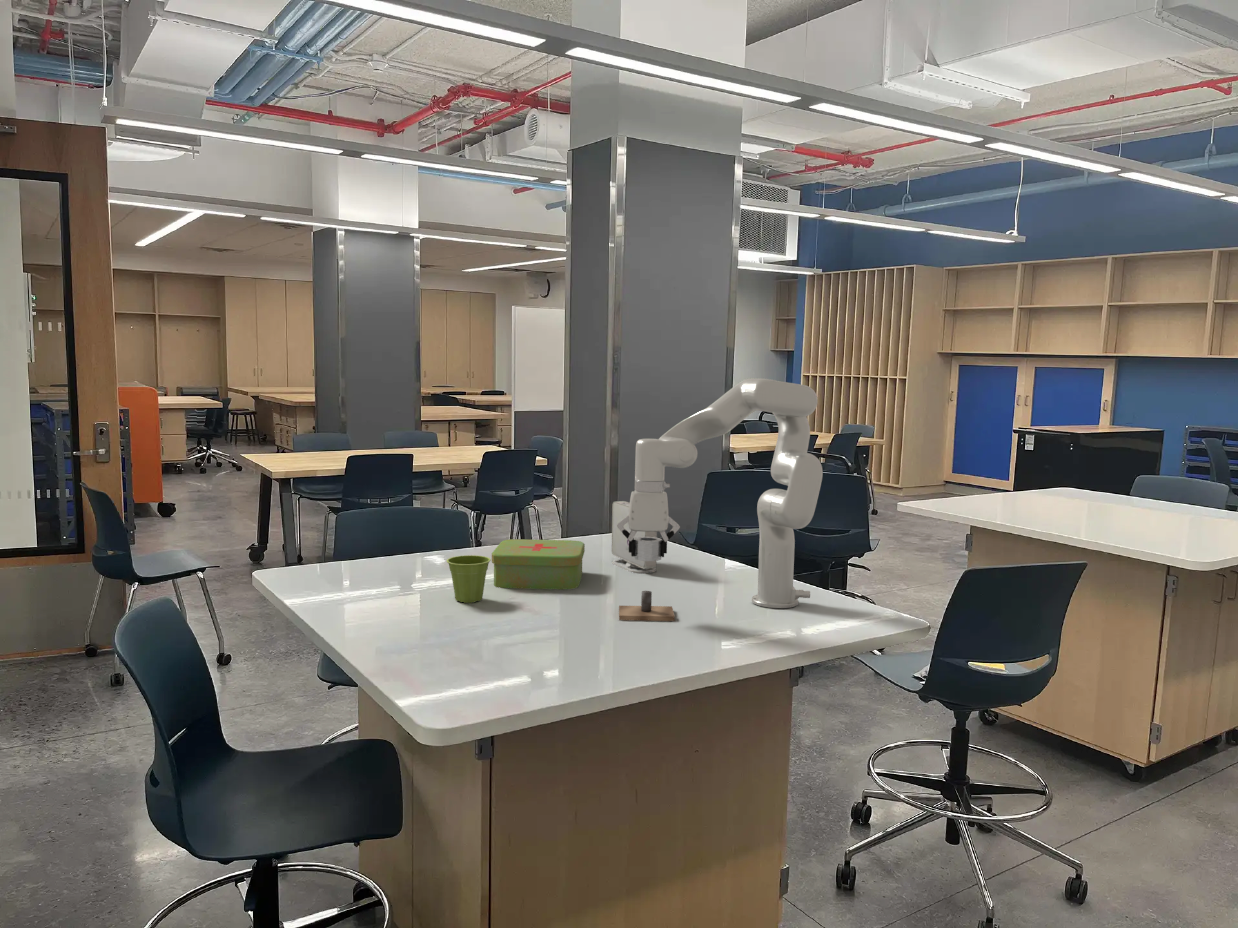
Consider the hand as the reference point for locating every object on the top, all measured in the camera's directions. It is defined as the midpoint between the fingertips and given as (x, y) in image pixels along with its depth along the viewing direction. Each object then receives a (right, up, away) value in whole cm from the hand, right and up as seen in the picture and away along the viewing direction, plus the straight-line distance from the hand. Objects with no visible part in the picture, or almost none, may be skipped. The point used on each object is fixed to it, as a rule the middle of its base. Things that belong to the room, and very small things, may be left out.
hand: (647, 555), depth 230 cm
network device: (-3, -10, +61) cm, 62 cm away
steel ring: (0, -1, 0) cm, 1 cm away
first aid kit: (-32, -12, +41) cm, 53 cm away
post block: (0, -16, +2) cm, 16 cm away
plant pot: (-48, -14, +14) cm, 52 cm away
